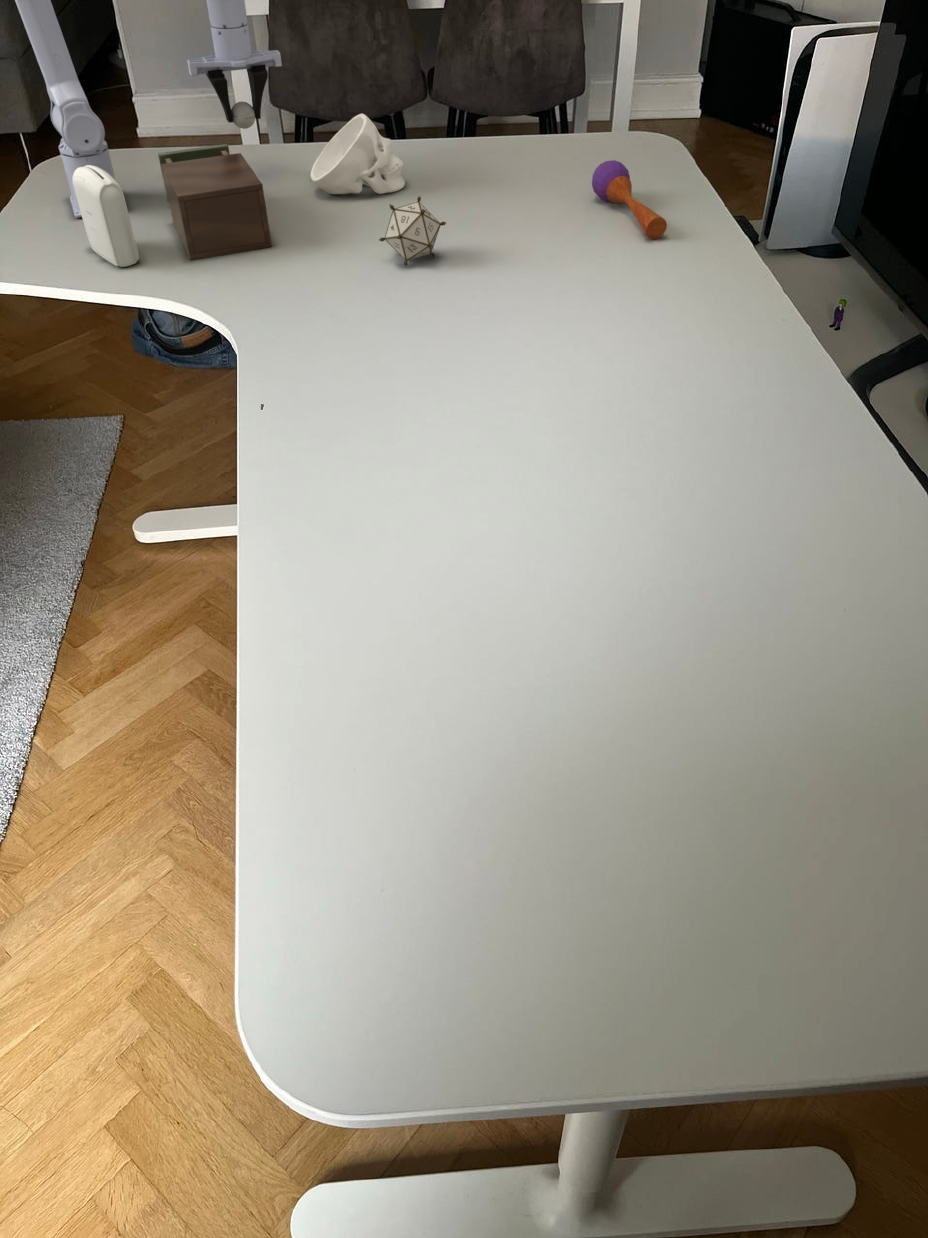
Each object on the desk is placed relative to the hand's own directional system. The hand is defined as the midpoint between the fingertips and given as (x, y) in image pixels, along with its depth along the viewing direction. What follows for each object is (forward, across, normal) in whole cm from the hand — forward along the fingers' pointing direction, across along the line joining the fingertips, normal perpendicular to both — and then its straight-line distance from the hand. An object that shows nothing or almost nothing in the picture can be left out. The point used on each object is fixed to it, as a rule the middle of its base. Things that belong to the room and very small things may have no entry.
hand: (243, 118), depth 163 cm
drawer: (+9, -10, -11) cm, 17 cm away
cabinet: (+10, -10, -22) cm, 26 cm away
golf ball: (+2, 0, 0) cm, 2 cm away
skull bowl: (+10, +15, -12) cm, 22 cm away
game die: (+10, +14, -42) cm, 46 cm away
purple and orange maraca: (+10, +50, -41) cm, 65 cm away
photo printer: (+10, -26, -24) cm, 36 cm away
